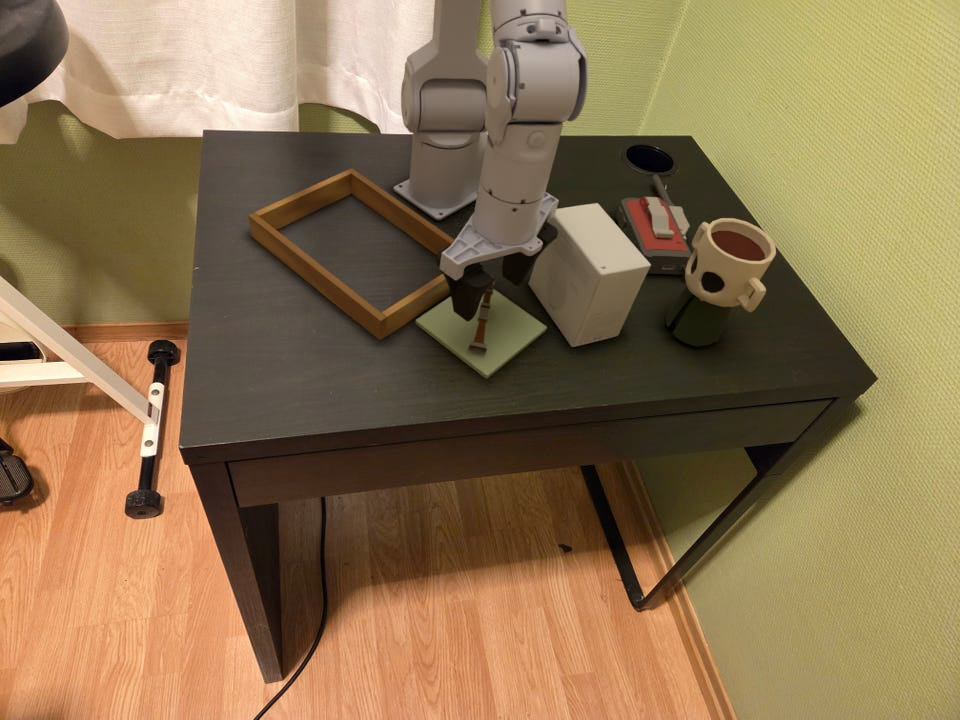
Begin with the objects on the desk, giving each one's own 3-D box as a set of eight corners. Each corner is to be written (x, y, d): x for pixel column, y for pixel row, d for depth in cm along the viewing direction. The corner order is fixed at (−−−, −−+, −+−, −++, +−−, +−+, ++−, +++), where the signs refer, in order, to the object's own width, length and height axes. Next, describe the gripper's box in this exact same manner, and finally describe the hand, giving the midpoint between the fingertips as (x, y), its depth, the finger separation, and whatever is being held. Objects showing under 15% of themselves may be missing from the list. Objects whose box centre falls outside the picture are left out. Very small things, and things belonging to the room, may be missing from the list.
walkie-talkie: (705, 283, 81) (658, 184, 93) (721, 255, 78) (669, 157, 90) (638, 281, 79) (599, 181, 92) (650, 253, 76) (608, 153, 88)
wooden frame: (351, 188, 83) (351, 167, 80) (475, 277, 75) (479, 257, 73) (251, 236, 74) (247, 215, 72) (379, 341, 67) (380, 320, 65)
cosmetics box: (621, 336, 73) (654, 264, 65) (571, 349, 70) (599, 276, 62) (574, 273, 78) (599, 199, 71) (526, 283, 76) (547, 208, 68)
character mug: (640, 300, 77) (682, 209, 67) (690, 291, 79) (738, 202, 70) (690, 371, 71) (745, 282, 61) (743, 359, 73) (804, 271, 63)
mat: (477, 281, 75) (478, 277, 75) (546, 330, 72) (547, 327, 71) (414, 323, 69) (415, 319, 69) (486, 379, 66) (487, 375, 65)
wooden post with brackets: (496, 291, 72) (501, 274, 68) (483, 360, 70) (487, 347, 65) (479, 288, 72) (483, 270, 68) (466, 357, 70) (469, 344, 65)
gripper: (493, 242, 51) (469, 355, 62) (597, 176, 60) (561, 285, 70) (428, 197, 54) (415, 313, 64) (536, 139, 62) (510, 251, 72)
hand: (488, 296), depth 67 cm, fingers open, 7 cm apart
